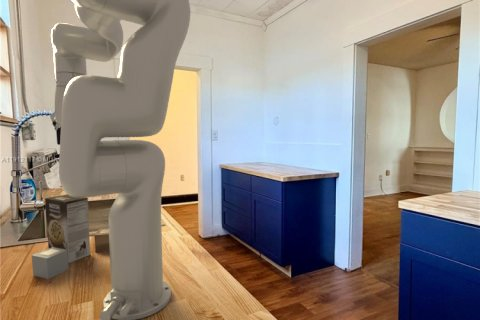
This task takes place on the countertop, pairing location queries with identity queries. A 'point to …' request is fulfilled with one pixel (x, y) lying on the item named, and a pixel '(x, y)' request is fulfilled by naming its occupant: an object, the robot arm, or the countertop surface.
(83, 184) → the robot arm
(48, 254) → the slate block
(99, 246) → the walnut block
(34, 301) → the countertop surface
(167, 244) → the countertop surface
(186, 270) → the countertop surface
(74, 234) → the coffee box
